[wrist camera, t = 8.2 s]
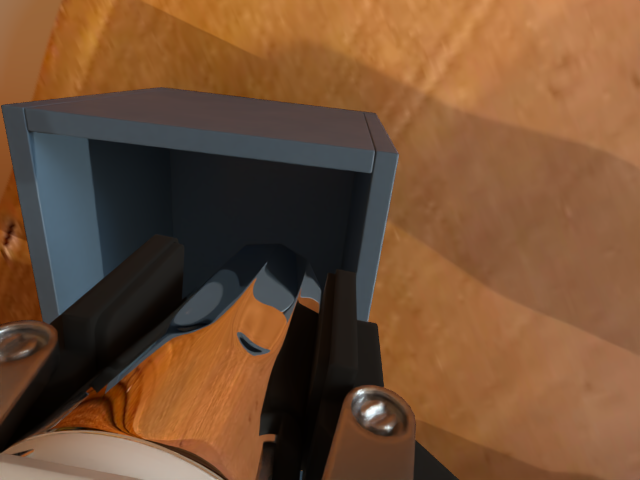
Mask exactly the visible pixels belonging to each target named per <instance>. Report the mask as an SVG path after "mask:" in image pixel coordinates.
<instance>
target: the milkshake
mask: <svg viewBox="0 0 640 480" xmlns="http://www.w3.org/2000/svg"><path fill="white" fill-rule="evenodd" d="M320 299H321V287H320V285H319V282H318V280H317V278H316V276H315V273H314V271H313V269H312V267H311V264H310V262H309V260H307V259H306V258H304V257H303V256H301V255H299V254H298V253H296V252H294V251H293V250H291V249H290V248H288V247H287V246H285V245H283V244H282V243H247V244H246V245H245V246H243V247H242V248H241V249H240V250H238V251H237V252H236V253H235V254H233V255H232V256H231V257H230V258H228V259H227V260H226V261H225V262H223V263H222V264H221V265H220V266H219V267H218V268H217V269H215V270H214V271H213V272H212V273H211V274H210V275H209V276H208V277H207V278H206V279H205V280H203V281H202V282H201V283H200V284H199V285H198V286H197V287H196V288H195V289H194V290H193V291H191V292H190V293H189V294H188V295H187V296H186V297H185V298H184V299H183V300H182V301H181V302H179V303H178V304H177V305H176V306H175V307H174V308H173V309H172V310H171V311H170V312H168V313H167V314H166V315H165V316H164V317H163V318H162V319H161V320H160V321H159V322H157V323H156V324H155V325H154V326H153V327H152V328H151V329H150V330H149V331H148V332H146V333H145V334H144V335H143V336H142V337H141V338H140V339H138V340H137V341H136V342H134V343H133V344H131V345H130V346H129V347H127V348H126V349H125V350H123V351H122V352H121V353H119V354H118V355H117V356H116V357H114V358H113V359H112V360H111V361H110V362H108V363H107V364H106V365H105V366H104V367H102V368H101V369H100V370H99V371H98V372H96V373H95V374H94V375H93V376H92V377H90V378H89V379H88V380H87V381H86V382H84V383H83V384H82V385H81V386H80V387H78V388H77V389H76V390H75V391H74V392H72V393H71V394H70V395H69V396H68V397H66V398H65V399H64V400H63V401H62V402H60V403H59V404H58V405H57V406H56V407H54V408H53V409H52V410H51V411H50V412H49V413H47V414H46V415H45V416H44V417H43V418H41V419H40V420H39V421H38V422H37V423H35V424H34V425H33V426H32V427H31V428H29V429H28V430H27V431H26V432H25V433H23V434H22V435H21V436H20V437H19V438H18V439H16V440H15V441H14V442H13V443H12V444H10V445H9V446H8V447H7V448H6V449H5V450H4V451H2V452H1V453H5V454H10V455H16V456H21V457H27V458H32V459H37V460H43V461H48V462H53V463H59V464H64V465H69V466H75V467H80V468H85V469H91V470H96V471H101V472H107V473H112V474H117V475H122V476H128V477H133V478H138V479H143V480H300V472H301V460H302V449H303V438H304V427H305V416H306V407H307V398H308V391H309V383H310V375H311V367H312V360H313V352H314V345H315V337H316V329H317V322H318V314H319V306H320Z"/></svg>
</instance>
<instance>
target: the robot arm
mask: <svg viewBox="0 0 640 480" xmlns="http://www.w3.org/2000/svg"><path fill="white" fill-rule="evenodd" d="M183 269H184V245H183V244H179V242H178V239H177V238H173V237H168V236H163V235H158V234H156V235H154V236H153V237H152V238H150V239H149V240H148V241H147V242H146V243H144V244H143V245H142V246H141V247H140V248H139V249H137V250H136V251H135V252H134V253H133V254H131V255H130V256H129V257H128V258H127V259H126V260H124V261H123V262H122V263H121V264H120V265H119V266H117V267H116V268H115V269H114V270H113V271H111V272H110V273H109V274H108V275H107V276H105V277H104V278H103V279H102V280H101V281H99V282H98V283H97V284H96V285H95V286H94V287H92V288H91V289H90V290H89V291H88V292H87V293H85V294H84V295H83V296H82V297H81V298H79V299H78V300H77V301H76V302H75V303H74V304H72V305H71V306H70V307H69V308H68V309H66V310H65V311H64V312H63V313H62V314H61V315H59V316H58V317H57V318H56V319H55V320H53V321H52V322H51V323H50V324H48V323H45V322H41V321H35V320H21V321H14V322H8V323H5V324H1V325H0V480H143V479H138V478H133V477H128V476H122V475H117V474H112V473H107V472H101V471H96V470H91V469H85V468H80V467H75V466H69V465H64V464H59V463H53V462H48V461H43V460H37V459H32V458H27V457H21V456H16V455H10V454H5V453H1V452H2V451H4V450H5V449H6V448H7V447H8V446H9V445H10V444H12V443H13V442H14V441H15V440H16V439H18V438H19V437H20V436H21V435H22V434H23V433H25V432H26V431H27V430H28V429H29V428H31V427H32V426H33V425H34V424H35V423H37V422H38V421H39V420H40V419H41V418H43V417H44V416H45V415H46V414H47V413H49V412H50V411H51V410H52V409H53V408H54V407H56V406H57V405H58V404H59V403H60V402H62V401H63V400H64V399H65V398H66V397H68V396H69V395H70V394H71V393H72V392H74V391H75V390H76V389H77V388H78V387H80V386H81V385H82V384H83V383H84V382H86V381H87V380H88V379H89V378H90V377H92V376H93V375H94V374H95V373H96V372H98V371H99V370H100V369H101V368H102V367H104V366H105V365H106V364H107V363H108V362H110V361H111V360H112V359H113V358H114V357H116V356H117V355H118V354H119V353H121V352H122V351H123V350H125V349H126V348H127V347H129V346H130V345H131V344H133V343H134V342H136V341H137V340H138V339H140V338H141V337H142V336H143V335H144V334H145V333H146V332H148V331H149V330H150V329H151V328H152V327H153V326H154V325H155V324H156V323H157V322H159V321H160V320H161V319H162V318H163V317H164V316H165V315H166V314H167V313H168V312H170V311H171V310H172V309H173V308H174V307H175V306H176V305H177V304H178V303H179V302H181V301H182V289H183ZM415 432H416V422H415V415H414V413H413V411H412V409H411V407H410V406H409V405H408V404H407V402H406V401H405V400H404V399H403V398H402V397H400V396H399V395H398V394H396V393H395V392H393V391H391V390H389V389H386V388H384V382H383V373H382V363H381V353H380V344H379V334H378V326H377V324H376V323H371V322H366V321H361V320H357V300H356V273H355V272H350V271H344V270H339V269H336V272H335V274H333V273H328V274H327V278H326V283H325V288H324V292H323V297H322V302H321V307H320V311H319V316H318V322H317V329H316V337H315V345H314V352H313V360H312V367H311V375H310V383H309V391H308V398H307V407H306V416H305V427H304V438H303V449H302V460H301V470H303V473H302V480H459V479H458V478H457V477H455V476H454V475H453V474H452V473H451V472H450V471H449V470H448V469H447V468H446V467H444V466H443V465H442V464H441V463H440V462H439V461H438V460H437V459H436V458H435V457H433V456H432V455H431V454H430V453H429V452H428V451H427V450H426V449H425V448H424V447H423V446H421V445H420V444H419V443H418V442H417V441H416V440H415Z"/></svg>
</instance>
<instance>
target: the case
mask: <svg viewBox="0 0 640 480" xmlns="http://www.w3.org/2000/svg"><path fill="white" fill-rule="evenodd" d="M1 108H2V113H3V118H4V123H5V129H6V134H7V139H8V144H9V149H10V154H11V160H12V165H13V170H14V175H15V180H16V185H17V191H18V196H19V201H20V206H21V211H22V216H23V221H24V227H25V232H26V237H27V242H28V247H29V252H30V258H31V263H32V268H33V273H34V278H35V283H36V288H37V294H38V299H39V304H40V309H41V314H42V319H43V322H45V323H48V324H50V323H51V322H52V321H53V320H55V319H56V318H57V317H58V316H59V315H61V314H62V313H63V312H64V311H65V310H66V309H68V308H69V307H70V306H71V305H72V304H74V303H75V302H76V301H77V300H78V299H79V298H81V297H82V296H83V295H84V294H85V293H87V292H88V291H89V290H90V289H91V288H92V287H94V286H95V285H96V284H97V283H98V282H99V281H101V280H102V279H103V278H104V277H105V276H107V275H108V274H109V273H110V272H111V271H113V270H114V269H115V268H116V267H117V266H119V265H120V264H121V263H122V262H123V261H124V260H126V259H127V258H128V257H129V256H130V255H131V254H133V253H134V252H135V251H136V250H137V249H139V248H140V247H141V246H142V245H143V244H144V243H146V242H147V241H148V240H149V239H150V238H152V237H153V236H154V235H156V234H158V235H163V236H168V237H173V238H177V239H178V242H179V244H183V245H184V269H183V289H182V300H183V299H184V298H185V297H186V296H187V295H188V294H189V293H190V292H191V291H193V290H194V289H195V288H196V287H197V286H198V285H199V284H200V283H201V282H202V281H203V280H205V279H206V278H207V277H208V276H209V275H210V274H211V273H212V272H213V271H214V270H215V269H217V268H218V267H219V266H220V265H221V264H222V263H223V262H225V261H226V260H227V259H228V258H230V257H231V256H232V255H233V254H235V253H236V252H237V251H238V250H240V249H241V248H242V247H243V246H245V245H246V244H247V243H282V244H283V245H285V246H287V247H288V248H290V249H291V250H293V251H294V252H296V253H298V254H299V255H301V256H303V257H304V258H306V259H307V260H309V262H310V264H311V267H312V269H313V271H314V273H315V276H316V278H317V280H318V282H319V285H320V287H321V299H320V306H319V311H320V307H321V302H322V297H323V292H324V288H325V283H326V278H327V274H328V273H333V274H335V272H336V269H339V270H344V271H350V272H355V273H356V300H357V320H361V321H366V322H368V319H369V313H370V308H371V303H372V297H373V292H374V286H375V281H376V276H377V270H378V265H379V260H380V254H381V249H382V243H383V238H384V233H385V227H386V222H387V217H388V211H389V206H390V201H391V195H392V190H393V184H394V179H395V174H396V168H397V163H398V158H399V154H398V152H397V150H396V148H395V147H394V145H393V143H392V141H391V139H390V138H389V136H388V134H387V132H386V131H385V129H384V127H383V125H382V124H381V122H380V120H379V118H378V117H377V115H376V114H375V113H369V112H361V111H353V110H345V109H336V108H328V107H320V106H312V105H303V104H295V103H287V102H278V101H270V100H262V99H254V98H245V97H237V96H229V95H220V94H212V93H204V92H196V91H187V90H179V89H171V88H162V87H160V88H150V89H141V90H132V91H123V92H114V93H105V94H96V95H87V96H78V97H68V98H59V99H50V100H41V101H32V102H23V103H14V104H5V105H2V106H1ZM318 316H319V314H318Z"/></svg>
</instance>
